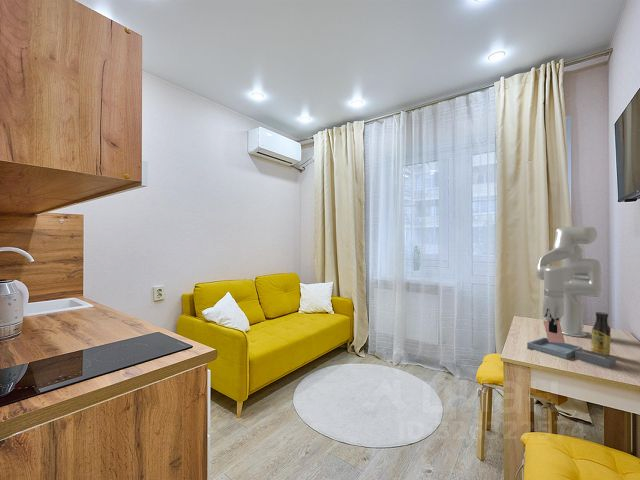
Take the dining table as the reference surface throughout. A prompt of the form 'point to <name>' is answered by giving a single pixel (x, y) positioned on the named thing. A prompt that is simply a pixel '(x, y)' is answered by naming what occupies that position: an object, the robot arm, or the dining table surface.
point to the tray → (553, 348)
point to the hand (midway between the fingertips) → (553, 332)
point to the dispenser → (595, 358)
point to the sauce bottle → (601, 335)
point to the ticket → (554, 336)
